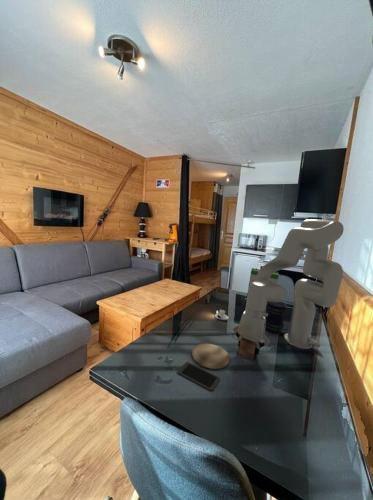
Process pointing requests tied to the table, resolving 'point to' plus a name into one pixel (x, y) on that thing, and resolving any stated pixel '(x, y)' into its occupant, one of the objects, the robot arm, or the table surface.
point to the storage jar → (275, 317)
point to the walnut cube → (247, 347)
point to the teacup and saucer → (222, 315)
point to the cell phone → (199, 376)
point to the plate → (210, 356)
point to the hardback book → (254, 273)
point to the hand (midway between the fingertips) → (247, 351)
